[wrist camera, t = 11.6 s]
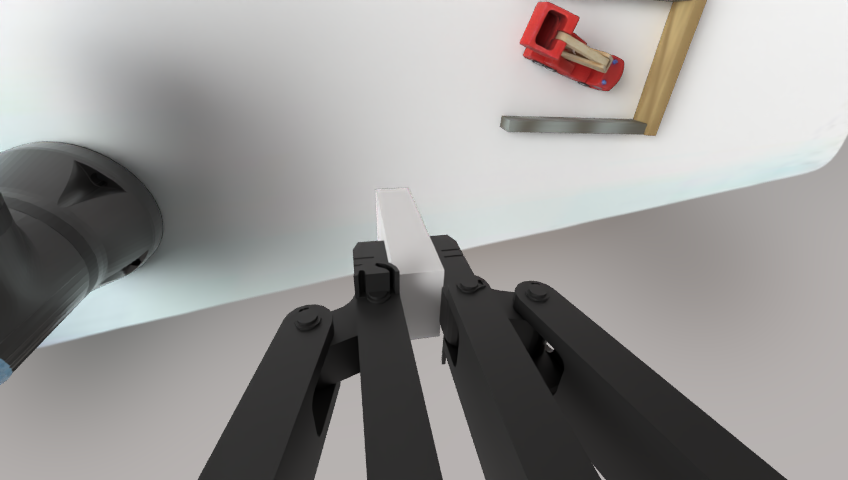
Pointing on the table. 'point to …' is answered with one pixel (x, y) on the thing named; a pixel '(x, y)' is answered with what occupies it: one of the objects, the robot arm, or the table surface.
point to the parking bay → (655, 91)
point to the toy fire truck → (568, 49)
